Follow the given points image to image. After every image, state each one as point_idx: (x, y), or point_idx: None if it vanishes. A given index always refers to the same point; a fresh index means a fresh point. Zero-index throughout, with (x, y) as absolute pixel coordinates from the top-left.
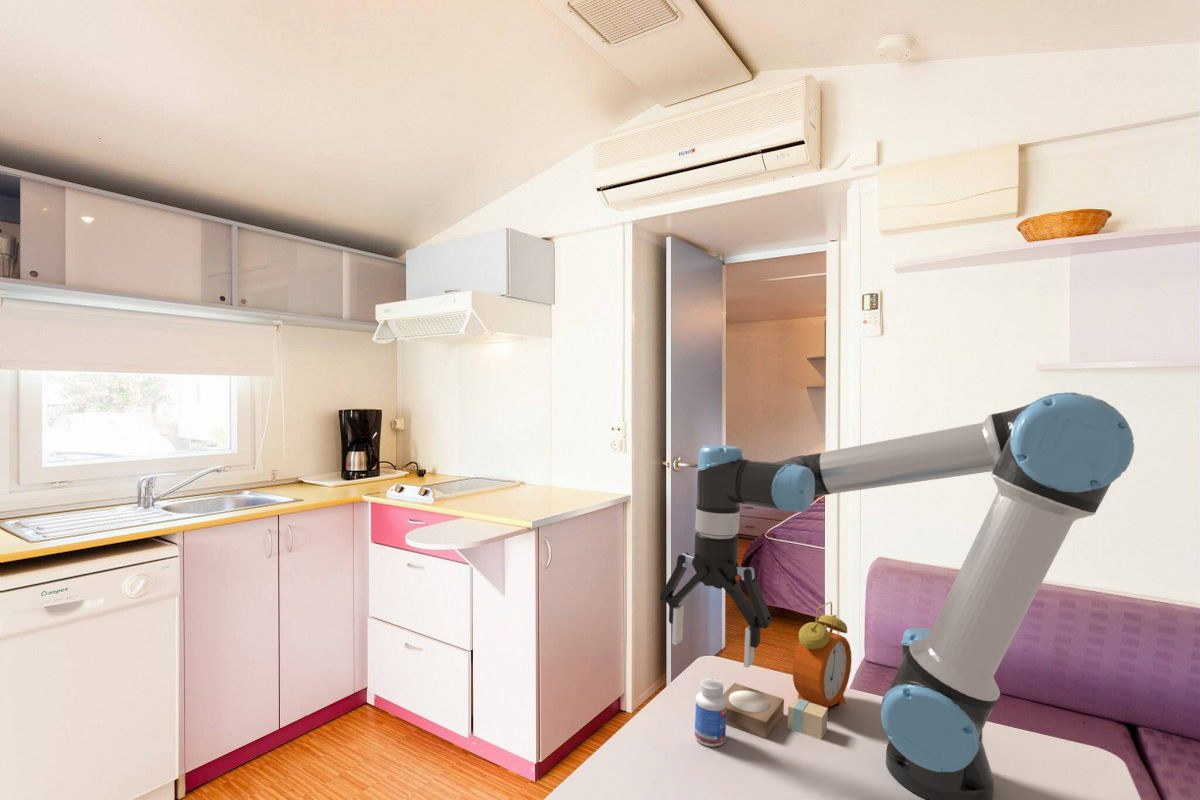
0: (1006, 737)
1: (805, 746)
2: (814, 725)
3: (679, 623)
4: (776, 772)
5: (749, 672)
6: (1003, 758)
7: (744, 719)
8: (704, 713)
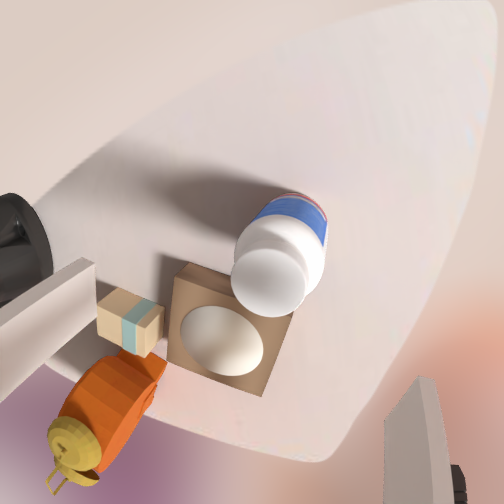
0: None
1: (131, 261)
2: (115, 300)
3: (408, 475)
4: (156, 163)
5: (254, 439)
6: None
7: (222, 287)
8: (293, 213)
